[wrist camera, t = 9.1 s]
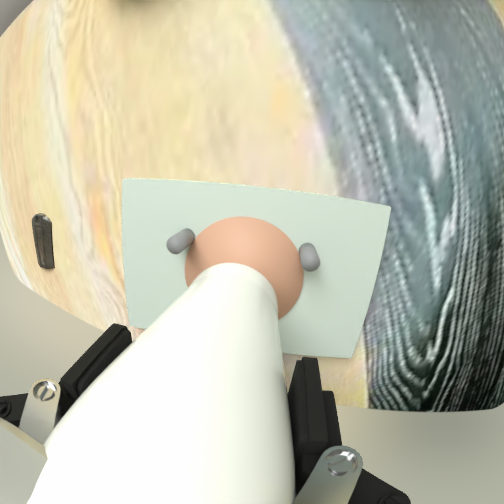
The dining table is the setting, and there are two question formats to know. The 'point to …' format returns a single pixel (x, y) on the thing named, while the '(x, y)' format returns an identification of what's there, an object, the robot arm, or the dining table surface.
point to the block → (43, 240)
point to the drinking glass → (184, 408)
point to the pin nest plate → (256, 253)
